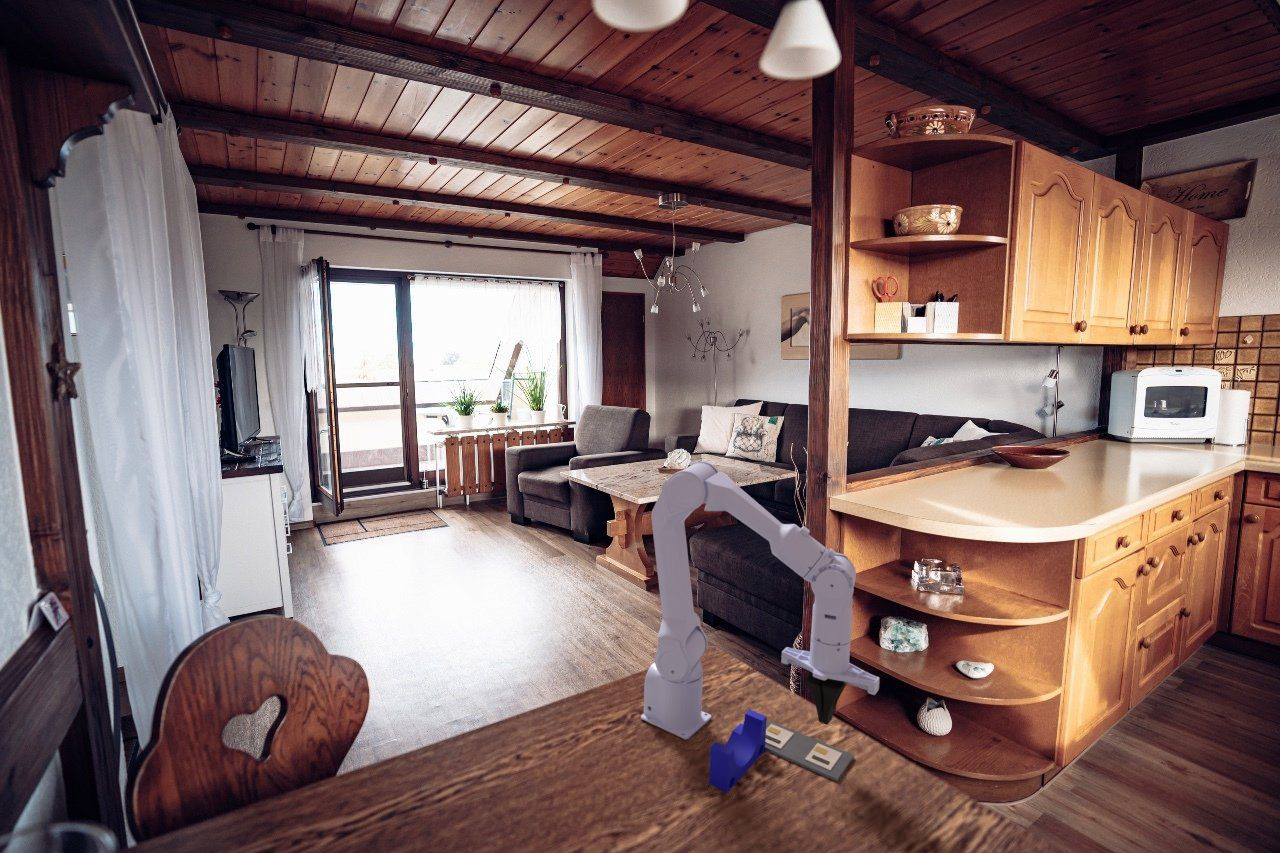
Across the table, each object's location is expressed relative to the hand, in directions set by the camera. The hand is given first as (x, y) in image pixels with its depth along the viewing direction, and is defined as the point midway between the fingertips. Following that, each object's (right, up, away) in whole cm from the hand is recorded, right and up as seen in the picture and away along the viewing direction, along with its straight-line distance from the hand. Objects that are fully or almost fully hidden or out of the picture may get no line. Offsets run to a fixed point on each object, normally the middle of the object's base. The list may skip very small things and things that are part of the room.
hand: (825, 720), depth 97 cm
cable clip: (-14, -7, -1) cm, 16 cm away
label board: (-3, -6, +3) cm, 8 cm away
